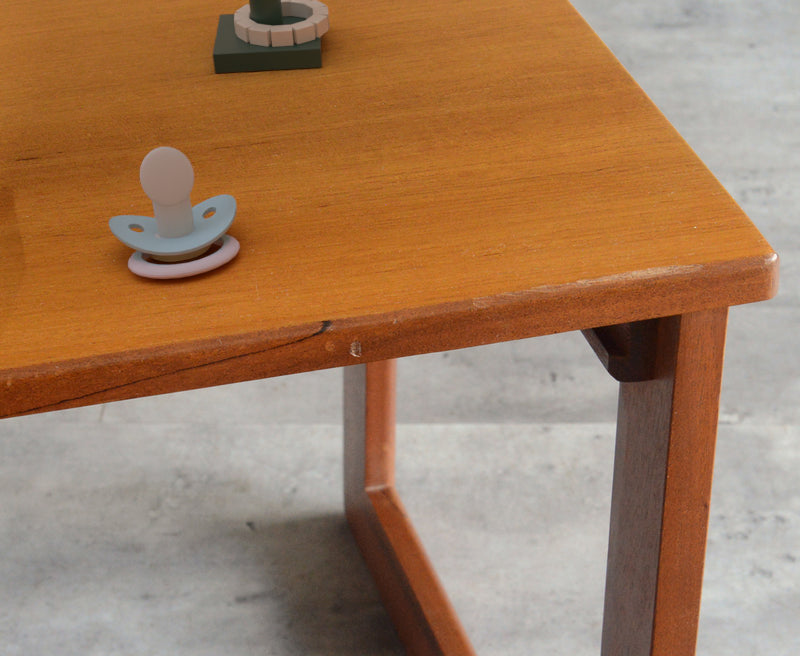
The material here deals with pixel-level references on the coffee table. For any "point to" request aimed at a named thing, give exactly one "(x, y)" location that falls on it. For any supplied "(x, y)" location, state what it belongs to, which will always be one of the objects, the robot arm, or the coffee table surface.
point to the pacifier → (176, 221)
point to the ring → (294, 3)
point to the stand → (249, 57)
